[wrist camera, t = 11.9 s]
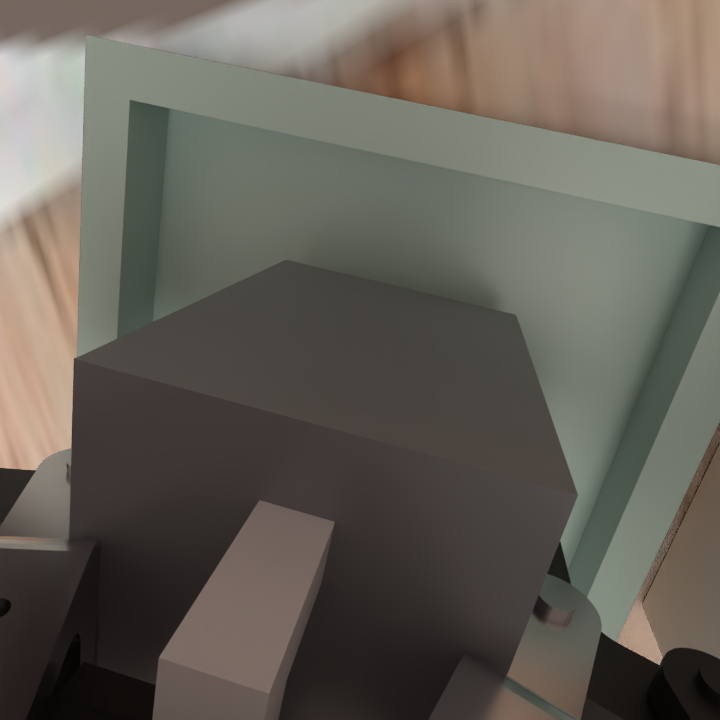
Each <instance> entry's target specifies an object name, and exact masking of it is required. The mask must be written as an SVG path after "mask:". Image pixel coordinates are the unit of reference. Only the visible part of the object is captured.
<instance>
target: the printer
mask: <svg viewBox="0 0 720 720" xmlns="http://www.w3.org/2000/svg"><path fill="white" fill-rule="evenodd" d="M642 606H643V609H644V611H645V614H646V616H647V619H648V621H649V624H650V626H651V628H652V631H653V633H654V636H655V638H656V641H657V643H658V646H659V648H660V651H661V653H662V656H663V657H664V655H665V654H666V653H667V652H668V651H669V650H672V649H674V648H691V649H696V650H699V651H703V652H705V653H708V654H710V655H713V656H715V657H717V658H719V659H720V444H719V446H718V448H717V450H716V452H715V454H714V456H713V458H712V461H711V463H710V465H709V467H708V469H707V471H706V473H705V475H704V477H703V479H702V481H701V483H700V485H699V488H698V490H697V492H696V494H695V496H694V498H693V500H692V502H691V504H690V506H689V508H688V510H687V513H686V515H685V517H684V519H683V521H682V523H681V525H680V527H679V529H678V531H677V533H676V535H675V538H674V540H673V542H672V544H671V546H670V548H669V550H668V552H667V554H666V556H665V558H664V560H663V562H662V565H661V567H660V569H659V571H658V573H657V575H656V577H655V579H654V581H653V583H652V585H651V587H650V590H649V592H648V594H647V596H646V598H645V600H644V602H643V604H642Z"/></svg>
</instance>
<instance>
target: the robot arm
mask: <svg viewBox="0 0 720 720" xmlns="http://www.w3.org/2000/svg"><path fill="white" fill-rule="evenodd" d="M71 449H72V448H71ZM71 449H66V450H63V451H60V452H58V453H55V454H53V455H51V456H49V457H48V458H46V459H45V460H44V461H43V462H42V463H41V464H40V465H39V467H38V468H37V470H20V469H6V468H0V720H152V718H153V708H154V699H155V689H156V685H154V684H151V683H148V682H145V681H142V680H139V679H136V678H133V677H129V676H126V675H123V674H120V673H117V672H114V671H111V670H108V669H105V668H102V667H99V666H96V665H95V647H96V628H97V610H98V598H99V579H100V560H101V542H100V541H99V540H79V539H69V521H70V485H71ZM601 629H602V623H601V618H600V616H599V613H598V612H597V610H596V608H595V607H594V605H593V604H592V603H591V601H590V600H589V599H588V598H587V597H586V596H585V595H584V594H583V593H581V592H580V591H579V590H578V589H576V588H575V587H573V586H572V585H571V581H570V577H569V573H568V569H567V565H566V561H565V557H564V553H563V549H562V545H561V542H559V545H558V547H557V550H556V552H555V555H554V557H553V560H552V563H551V565H550V568H549V570H548V573H547V575H546V578H545V580H544V583H543V585H542V588H541V590H540V593H539V595H538V598H537V601H536V603H535V606H534V608H533V611H532V613H531V616H530V618H529V621H528V623H527V626H526V628H525V631H524V633H523V636H522V639H521V641H520V644H519V646H518V649H517V651H516V654H515V656H514V659H513V661H512V664H511V666H510V669H509V671H508V674H507V677H506V676H504V675H502V674H501V673H499V672H497V671H496V670H494V669H492V668H491V667H489V666H488V665H486V664H484V663H483V662H481V661H479V660H478V659H476V658H474V657H473V656H471V655H469V654H468V653H465V654H464V656H463V657H462V659H461V660H460V662H459V664H458V666H457V668H456V669H455V671H454V673H453V675H452V677H451V679H450V681H449V682H448V684H447V686H446V688H445V690H444V692H443V693H442V695H441V697H440V699H439V701H438V703H437V705H436V706H435V708H434V710H433V712H432V714H431V716H430V717H429V719H428V720H720V659H719V658H717V657H715V656H713V655H710V654H708V653H705V652H703V651H699V650H696V649H691V648H674V649H672V650H669V651H668V652H667V653H666V654H665V655H664V657H663V659H662V661H661V663H660V665H658V664H656V663H654V662H652V661H650V660H648V659H646V658H645V657H643V656H641V655H639V654H637V653H635V652H633V651H631V650H629V649H627V648H626V647H624V646H622V645H620V644H619V643H617V642H615V641H614V640H612V639H611V638H609V637H608V636H606V635H605V634H604V633H602V632H601Z"/></svg>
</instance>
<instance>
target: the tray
mask: <svg viewBox="0 0 720 720" xmlns="http://www.w3.org/2000/svg"><path fill="white" fill-rule="evenodd" d="M284 260H290V261H294V262H298V263H302V264H307V265H311V266H315V267H319V268H323V269H327V270H332V271H336V272H340V273H344V274H348V275H352V276H357V277H361V278H365V279H369V280H373V281H377V282H382V283H386V284H390V285H394V286H398V287H402V288H407V289H411V290H415V291H419V292H423V293H427V294H432V295H436V296H440V297H444V298H448V299H452V300H457V301H461V302H465V303H469V304H473V305H477V306H481V307H486V308H490V309H494V310H498V311H502V312H506V313H511V314H515V315H516V316H517V319H518V322H519V325H520V328H521V331H522V333H523V336H524V339H525V342H526V345H527V348H528V351H529V354H530V357H531V360H532V363H533V365H534V368H535V371H536V374H537V377H538V380H539V383H540V386H541V389H542V392H543V395H544V397H545V400H546V403H547V406H548V409H549V412H550V415H551V418H552V421H553V424H554V427H555V429H556V432H557V435H558V438H559V441H560V444H561V447H562V450H563V453H564V456H565V459H566V461H567V464H568V467H569V470H570V473H571V476H572V479H573V482H574V485H575V488H576V491H577V493H578V497H577V499H576V502H575V504H574V507H573V509H572V512H571V514H570V517H569V519H568V522H567V525H566V527H565V530H564V532H563V535H562V537H561V540H560V542H561V545H562V549H563V553H564V557H565V561H566V565H567V569H568V573H569V577H570V581H571V585H572V586H573V587H575V588H576V589H578V590H579V591H580V592H581V593H583V594H584V595H585V596H586V597H587V598H588V599H589V600H590V601H591V603H592V604H593V605H594V607H595V608H596V610H597V612H598V613H599V616H600V618H601V623H602V629H601V632H602V633H604V634H605V635H606V636H608V637H609V638H611V639H612V640H614V641H615V642H616V640H617V638H618V636H619V634H620V631H621V629H622V627H623V625H624V623H625V621H626V619H627V617H628V615H629V612H630V610H631V608H632V606H633V604H634V602H635V600H636V598H637V596H638V593H639V591H640V589H641V587H642V585H643V583H644V581H645V579H646V577H647V574H648V572H649V570H650V568H651V566H652V564H653V562H654V560H655V558H656V555H657V553H658V551H659V549H660V547H661V545H662V543H663V541H664V539H665V536H666V534H667V532H668V530H669V528H670V526H671V524H672V522H673V520H674V517H675V515H676V513H677V511H678V509H679V507H680V505H681V503H682V501H683V498H684V496H685V494H686V492H687V490H688V488H689V486H690V484H691V482H692V479H693V477H694V475H695V473H696V471H697V469H698V467H699V465H700V463H701V460H702V458H703V456H704V454H705V452H706V450H707V448H708V446H709V444H710V441H711V439H712V437H713V435H714V433H715V431H716V429H717V427H718V425H719V422H720V165H717V164H712V163H707V162H702V161H698V160H693V159H688V158H683V157H678V156H673V155H668V154H663V153H659V152H654V151H649V150H644V149H639V148H634V147H629V146H624V145H620V144H615V143H610V142H605V141H600V140H595V139H590V138H585V137H581V136H576V135H571V134H566V133H561V132H556V131H551V130H546V129H542V128H537V127H532V126H527V125H522V124H517V123H512V122H507V121H502V120H498V119H493V118H488V117H483V116H478V115H473V114H468V113H463V112H459V111H454V110H449V109H444V108H439V107H434V106H429V105H424V104H420V103H415V102H410V101H405V100H400V99H395V98H390V97H385V96H381V95H376V94H371V93H366V92H361V91H356V90H351V89H346V88H342V87H337V86H332V85H327V84H322V83H317V82H312V81H307V80H303V79H298V78H293V77H288V76H283V75H278V74H273V73H268V72H264V71H259V70H254V69H249V68H244V67H239V66H234V65H229V64H225V63H220V62H215V61H210V60H205V59H200V58H195V57H190V56H186V55H181V54H176V53H171V52H166V51H161V50H156V49H151V48H146V47H142V46H137V45H132V44H127V43H122V42H117V41H112V40H107V39H103V38H98V37H93V36H88V35H86V53H85V88H84V123H83V158H82V193H81V228H80V263H79V298H78V334H77V357H79V356H81V355H83V354H86V353H88V352H90V351H92V350H94V349H96V348H98V347H100V346H103V345H105V344H107V343H109V342H111V341H113V340H115V339H118V338H120V337H122V336H124V335H126V334H128V333H130V332H133V331H135V330H137V329H139V328H141V327H143V326H145V325H147V324H150V323H152V322H154V321H156V320H158V319H160V318H162V317H165V316H167V315H169V314H171V313H173V312H175V311H177V310H179V309H182V308H184V307H186V306H188V305H190V304H192V303H194V302H197V301H199V300H201V299H203V298H205V297H207V296H209V295H212V294H214V293H216V292H218V291H220V290H222V289H224V288H226V287H229V286H231V285H233V284H235V283H237V282H239V281H241V280H244V279H246V278H248V277H250V276H252V275H254V274H256V273H258V272H261V271H263V270H265V269H267V268H269V267H271V266H273V265H276V264H278V263H280V262H282V261H284Z"/></svg>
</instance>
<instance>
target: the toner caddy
mask: <svg viewBox="0 0 720 720" xmlns="http://www.w3.org/2000/svg"><path fill="white" fill-rule="evenodd" d="M577 497H578V493H577V491H576V488H575V485H574V482H573V479H572V476H571V473H570V470H569V467H568V464H567V461H566V459H565V456H564V453H563V450H562V447H561V444H560V441H559V438H558V435H557V432H556V429H555V427H554V424H553V421H552V418H551V415H550V412H549V409H548V406H547V403H546V400H545V397H544V395H543V392H542V389H541V386H540V383H539V380H538V377H537V374H536V371H535V368H534V365H533V363H532V360H531V357H530V354H529V351H528V348H527V345H526V342H525V339H524V336H523V333H522V331H521V328H520V325H519V322H518V319H517V316H516V315H515V314H511V313H506V312H502V311H498V310H494V309H490V308H486V307H481V306H477V305H473V304H469V303H465V302H461V301H457V300H452V299H448V298H444V297H440V296H436V295H432V294H427V293H423V292H419V291H415V290H411V289H407V288H402V287H398V286H394V285H390V284H386V283H382V282H377V281H373V280H369V279H365V278H361V277H357V276H352V275H348V274H344V273H340V272H336V271H332V270H327V269H323V268H319V267H315V266H311V265H307V264H302V263H298V262H294V261H290V260H284V261H282V262H280V263H278V264H276V265H273V266H271V267H269V268H267V269H265V270H263V271H261V272H258V273H256V274H254V275H252V276H250V277H248V278H246V279H244V280H241V281H239V282H237V283H235V284H233V285H231V286H229V287H226V288H224V289H222V290H220V291H218V292H216V293H214V294H212V295H209V296H207V297H205V298H203V299H201V300H199V301H197V302H194V303H192V304H190V305H188V306H186V307H184V308H182V309H179V310H177V311H175V312H173V313H171V314H169V315H167V316H165V317H162V318H160V319H158V320H156V321H154V322H152V323H150V324H147V325H145V326H143V327H141V328H139V329H137V330H135V331H133V332H130V333H128V334H126V335H124V336H122V337H120V338H118V339H115V340H113V341H111V342H109V343H107V344H105V345H103V346H100V347H98V348H96V349H94V350H92V351H90V352H88V353H86V354H83V355H81V356H79V357H77V358H75V359H74V377H73V413H72V449H71V485H70V521H69V539H79V540H99V541H100V542H101V560H100V579H99V598H98V610H97V628H96V647H95V665H96V666H99V667H102V668H105V669H108V670H111V671H114V672H117V673H120V674H123V675H126V676H129V677H133V678H136V679H139V680H142V681H145V682H148V683H151V684H154V685H156V689H155V699H154V708H153V718H152V720H428V719H429V717H430V716H431V714H432V712H433V710H434V708H435V706H436V705H437V703H438V701H439V699H440V697H441V695H442V693H443V692H444V690H445V688H446V686H447V684H448V682H449V681H450V679H451V677H452V675H453V673H454V671H455V669H456V668H457V666H458V664H459V662H460V660H461V659H462V657H463V656H464V654H465V653H468V654H469V655H471V656H473V657H474V658H476V659H478V660H479V661H481V662H483V663H484V664H486V665H488V666H489V667H491V668H492V669H494V670H496V671H497V672H499V673H501V674H502V675H504V676H506V677H507V674H508V671H509V669H510V666H511V664H512V661H513V659H514V656H515V654H516V651H517V649H518V646H519V644H520V641H521V639H522V636H523V633H524V631H525V628H526V626H527V623H528V621H529V618H530V616H531V613H532V611H533V608H534V606H535V603H536V601H537V598H538V595H539V593H540V590H541V588H542V585H543V583H544V580H545V578H546V575H547V573H548V570H549V568H550V565H551V563H552V560H553V557H554V555H555V552H556V550H557V547H558V545H559V542H560V540H561V537H562V535H563V532H564V530H565V527H566V525H567V522H568V519H569V517H570V514H571V512H572V509H573V507H574V504H575V502H576V499H577Z"/></svg>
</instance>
